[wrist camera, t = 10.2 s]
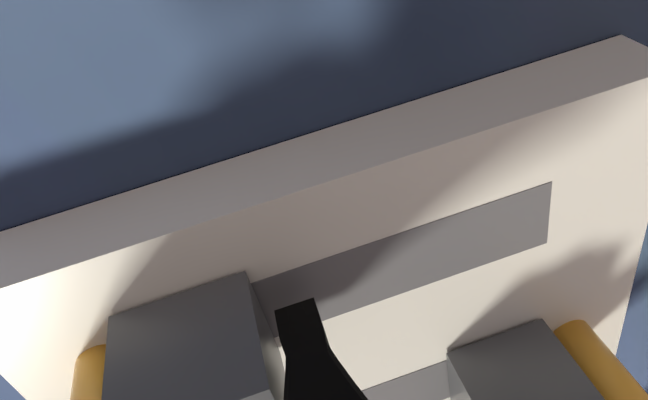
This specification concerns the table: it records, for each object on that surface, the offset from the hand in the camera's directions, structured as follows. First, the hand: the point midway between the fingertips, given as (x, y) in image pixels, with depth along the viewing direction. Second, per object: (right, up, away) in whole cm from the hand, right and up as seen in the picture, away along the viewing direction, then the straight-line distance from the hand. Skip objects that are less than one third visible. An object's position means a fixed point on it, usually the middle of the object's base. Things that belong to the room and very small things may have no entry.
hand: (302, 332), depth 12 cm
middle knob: (+6, -2, +5) cm, 8 cm away
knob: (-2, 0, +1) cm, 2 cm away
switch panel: (+2, -2, +6) cm, 6 cm away
